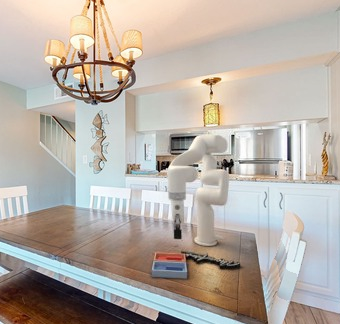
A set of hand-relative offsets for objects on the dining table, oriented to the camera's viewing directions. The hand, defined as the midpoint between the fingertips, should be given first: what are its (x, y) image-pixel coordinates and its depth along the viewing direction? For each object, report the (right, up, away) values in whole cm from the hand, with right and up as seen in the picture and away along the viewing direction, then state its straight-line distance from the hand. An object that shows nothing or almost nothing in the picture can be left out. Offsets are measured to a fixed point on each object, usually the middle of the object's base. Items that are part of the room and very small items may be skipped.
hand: (177, 234), depth 92 cm
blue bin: (-4, -15, -4) cm, 16 cm away
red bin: (-3, -15, +5) cm, 16 cm away
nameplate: (+15, -15, +6) cm, 22 cm away
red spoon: (-3, -14, +5) cm, 15 cm away
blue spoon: (-4, -14, -4) cm, 15 cm away
